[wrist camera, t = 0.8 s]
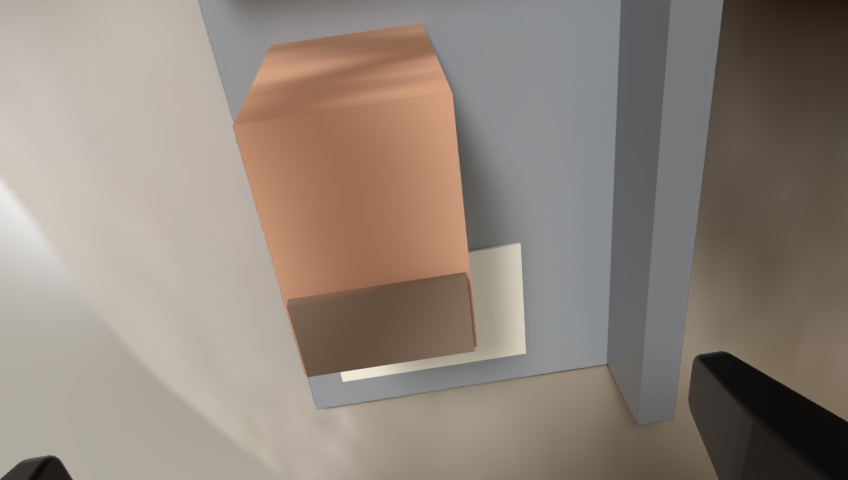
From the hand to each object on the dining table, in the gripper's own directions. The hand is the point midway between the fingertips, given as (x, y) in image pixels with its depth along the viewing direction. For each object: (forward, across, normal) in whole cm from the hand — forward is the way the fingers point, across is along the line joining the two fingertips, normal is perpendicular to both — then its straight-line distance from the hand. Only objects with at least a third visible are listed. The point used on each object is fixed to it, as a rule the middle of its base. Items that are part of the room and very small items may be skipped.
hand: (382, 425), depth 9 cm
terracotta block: (+11, 0, 0) cm, 11 cm away
